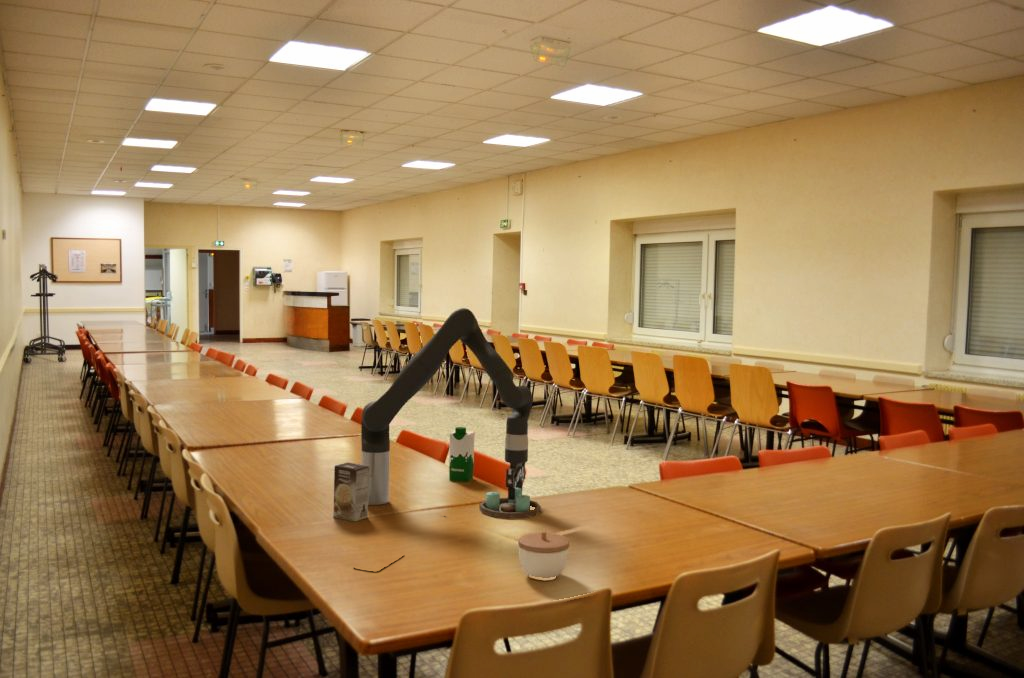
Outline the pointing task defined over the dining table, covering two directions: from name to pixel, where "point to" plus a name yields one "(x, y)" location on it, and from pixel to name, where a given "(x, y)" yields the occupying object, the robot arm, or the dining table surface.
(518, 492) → the bead
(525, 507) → the bead
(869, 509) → the dining table surface
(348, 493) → the coffee box
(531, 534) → the lidded bowl
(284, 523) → the dining table surface
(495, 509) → the bead
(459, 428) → the milk carton
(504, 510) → the ring tray
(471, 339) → the robot arm
